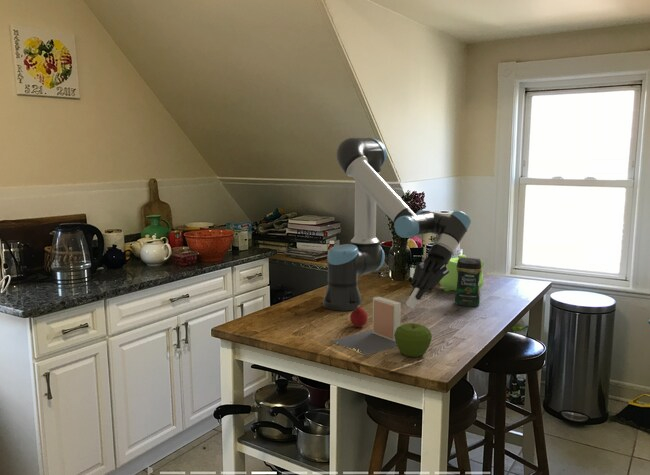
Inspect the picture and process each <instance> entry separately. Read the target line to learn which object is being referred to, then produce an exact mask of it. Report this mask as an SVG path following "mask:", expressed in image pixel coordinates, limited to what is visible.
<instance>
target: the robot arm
mask: <svg viewBox="0 0 650 475" xmlns="http://www.w3.org/2000/svg"><path fill="white" fill-rule="evenodd" d="M387 154H388V153H387V149H386V146H385V145H384V143H382V141H380V140H378V139H376V138H372V137H348V138H345V139H344V140H342V141H341V142H340V143H339V145H338V146H337V149H336V153H335V156H336V162H337V164H338V166H339V167H340V169H341V170H342V171H343V172H344V173H345V175H346V176H348V178H349V177H350V178H351V177H352V178H353V179H354V236H353V237H352V239H351V240H350V243H345V244H337V245H334V246H332V247H330V248H329V249H328V251H327V252H328V253H327V258H326V260H327V261H326V262H327V288H326V291H325V294H324V296H323V300H322V301H323V302H322V306H323V307H324V308H325V309H328V310H331V311H347V312H348V311H353V310H354V309H356V308H357V307H358V306H359V305H360V306H361V307H362V306H363V300H362V296H361V292H360V289H359V287H358V285H359V284H358V278H359V277H360V276H364V275H367V274H372V273H374V272H376V271H379V270H380V269H381V268H382V267H383V265H384V263H385V258H386V256H385V255H386V254H385V251H384V249H383V247H382V246H381V245H380V239H378V237H377V235H376V233H377V206H378V207H379V208H380V209H381V210H382V211H383V213H384V214H385V215H387V217H388V218H389V219H390V220H391V221H392V222H393V224H394V226H393V227H394V231H395V234H396V235H397V236H398V237H400V238H404V239H406V238H409V239H410V238H414V237H417V236H423V235H428V234H433V235H437V237H436V239H435V240H434V242H433V244H432V245H431V247H430V248H429V251H428V252H427V257H425V259H424V260H423V261H421V262H420V261H417V262H416V265H415V266H416V267H415V271H414V274H413V276H412V277H411V282H410V286H411V287H412V290H411V291H410V293H409V297H408V299H407V300H406V303H405V304H406V305H407V307H408V308H409V309H414V308H415V307H416V305H417V304H418V302H419V301H420V300H421V299H422V297H423V296H424V294H425V293H427V292H428V293H431V292H432V291H433V290H434V288H435V287H436V286H437V285H438V284H440V282H439V281H440V280H441V279H442V278H443V277H444V276H445V275H446V274H448V273H449V270H448V269H447V268H446V265H447V264H448V262H449V261H450V259H451V258H453V255H454V253H455V251H456V250H457V248H458V247H459V244H460V243H461V241H462V239H463V238H464V236H465V235H466V233H467V232H468V230H469V227H470V226H471V222H472V220H471V218H470V216H469V215H468V214H467V213H466V212H464V211H461V210H454V211H453V212H452V213H450V215H445V214H442V213H437V212H433V211H431V210H424V209H423V210H422V209H420V210H417V211H416V213H415V212H414V211H413V210H412V209H411V207H410V206H408V205H407V204H406V202H405V201H404V200H403V199H402V198H401V196H399V195H398V194H397V193H396V192H395V191H394V190H393V189H392V187H391V186H390V185H389V184H388V183H387V182H386V181H385V180H384V179H383V178H382V176H380V174H381V172H382V168H381V167H383V166H384V163H386V161H387V158H388V157H387Z"/></svg>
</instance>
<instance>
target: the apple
mask: <svg viewBox="0 0 650 475" xmlns="http://www.w3.org/2000/svg"><path fill="white" fill-rule="evenodd" d="M394 336H395V341H396V344H397V346H396V347H397V348H398V351H399V352H400V353H401V354H403V355H404V356H406V357H409V358H418V357H421V356H423V355H425V354H426V353H427V350H428V349H429V347H430V345H431V342H432V338H433V335H432V332H431V330H430V328H428V327H427V326H425V325H423V324H419V323H414V322H413V323H412V322H409V323H404V324H400V326H399V327H398V328H397V329H396V331H395V335H394Z"/></svg>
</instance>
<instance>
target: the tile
mask: <svg viewBox="0 0 650 475" xmlns="http://www.w3.org/2000/svg"><path fill="white" fill-rule="evenodd" d="M401 307H402V303H401V302H398V301H395V300H392V299H389V298H385V297H383V296H374V297H372V329H373V332H372V333H374V334H376V335H379V336H382V337H384V338H387V339H390V340H392V341H395V336H394V335H395V331H396V329H397V328H398V327H399V326H401V311H402V310H401V309H402V308H401Z"/></svg>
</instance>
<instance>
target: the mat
mask: <svg viewBox="0 0 650 475" xmlns="http://www.w3.org/2000/svg"><path fill="white" fill-rule="evenodd" d="M372 332H373V328H372V329H369V330H365V331H363V332H362V331H361V332H358V333H354V334H350V335H347V336H344V337H339V338H337V339H333V340H331V341H333V342H332V343H333V344H335V343H337V342H338V343H337V344H336V345H338V344H339V345H338V346H340V345H341V346H340V347H342V346H345V347H348V348H351V349H353V348H355V349H356V351H357V350H358V349H359V352H360V351H361V352H360V353H362V354H364V355H366V356H369V355H373V354H375V353H380V352H382V351H385V350H388V349H391V348H395V347H398V346H397V344H396V341H392V340H390V339H387V338H384V337H382V336H379V335H376V334H374V333H372ZM345 347H344V348H345ZM366 356H365V357H366Z"/></svg>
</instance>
